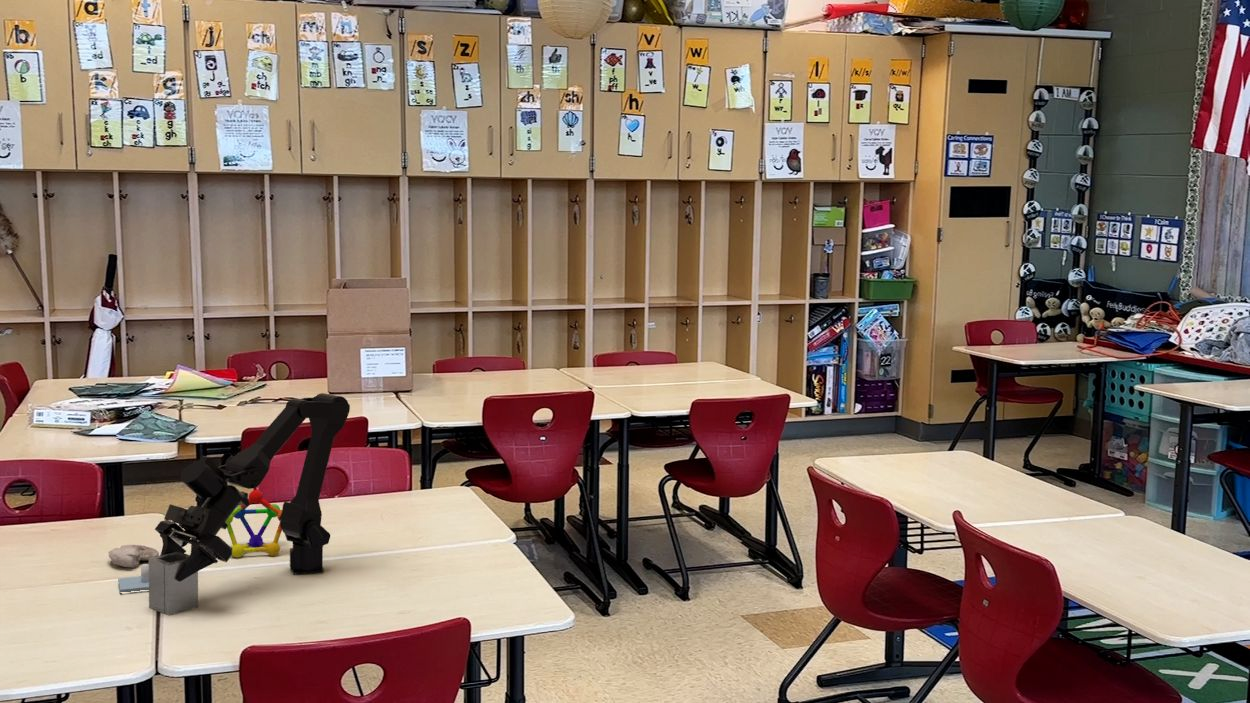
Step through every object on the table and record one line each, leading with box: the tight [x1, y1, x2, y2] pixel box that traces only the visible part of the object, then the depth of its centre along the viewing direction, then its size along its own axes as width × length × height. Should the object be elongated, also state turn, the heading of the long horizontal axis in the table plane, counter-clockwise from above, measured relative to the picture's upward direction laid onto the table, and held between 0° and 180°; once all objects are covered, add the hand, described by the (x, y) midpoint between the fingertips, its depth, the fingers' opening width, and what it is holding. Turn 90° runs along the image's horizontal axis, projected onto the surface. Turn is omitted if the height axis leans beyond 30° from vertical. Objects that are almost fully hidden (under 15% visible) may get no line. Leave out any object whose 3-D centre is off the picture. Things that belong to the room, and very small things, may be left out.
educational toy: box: [225, 489, 283, 558], centre depth 269 cm, size 16×13×15 cm
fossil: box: [108, 544, 160, 569], centre depth 259 cm, size 12×4×10 cm
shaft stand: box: [117, 563, 149, 593], centre depth 243 cm, size 10×8×4 cm
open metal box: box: [148, 552, 199, 616], centre depth 231 cm, size 7×7×10 cm
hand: (167, 576), depth 229 cm, fingers closed on open metal box, 7 cm apart
